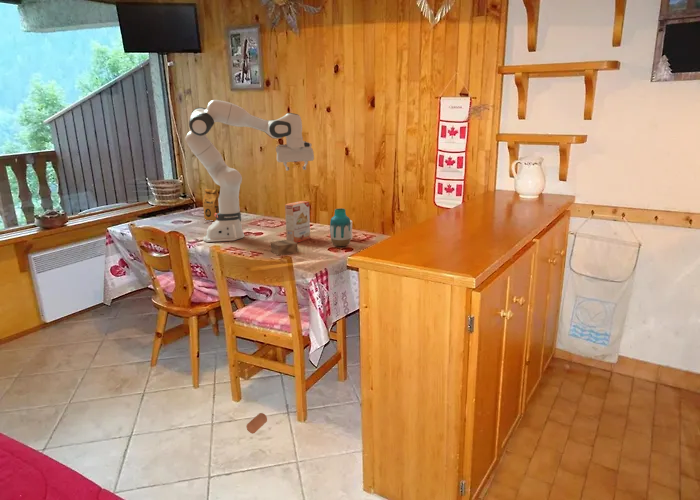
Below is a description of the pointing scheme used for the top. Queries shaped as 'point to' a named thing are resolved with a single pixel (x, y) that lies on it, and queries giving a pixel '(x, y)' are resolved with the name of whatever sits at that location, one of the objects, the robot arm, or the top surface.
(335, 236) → the vase
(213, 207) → the coffee package
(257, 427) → the canister
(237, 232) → the robot arm
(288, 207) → the cracker box
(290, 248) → the walnut block
